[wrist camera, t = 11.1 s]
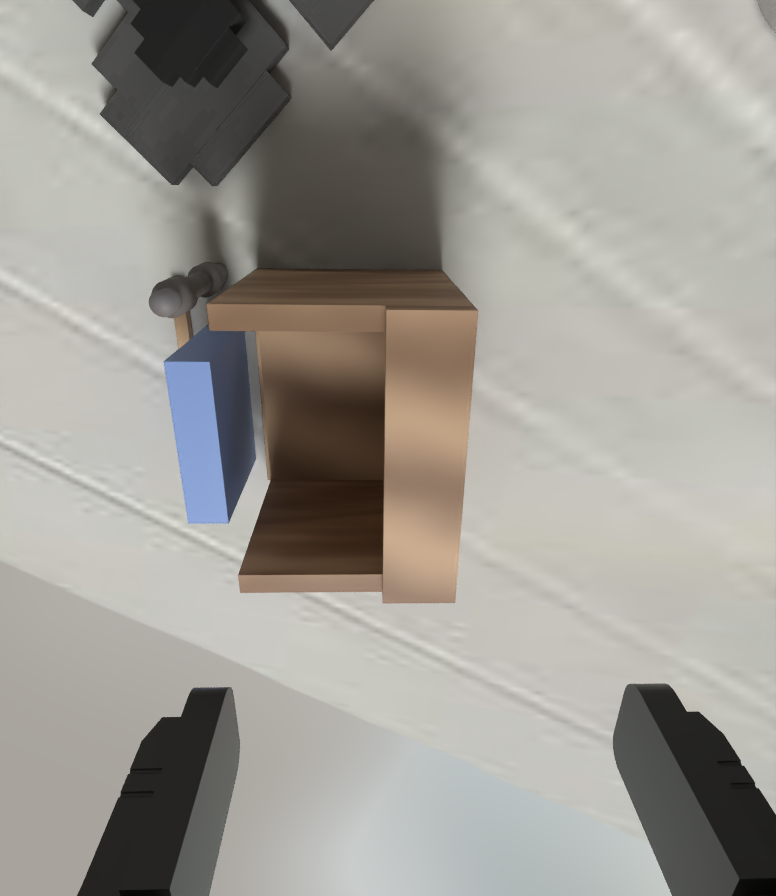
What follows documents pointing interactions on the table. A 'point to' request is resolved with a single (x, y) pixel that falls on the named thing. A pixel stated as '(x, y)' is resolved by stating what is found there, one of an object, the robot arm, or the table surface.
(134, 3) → the abstract sculpture
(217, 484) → the blue rectangular block
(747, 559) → the table surface
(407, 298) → the cabinet
